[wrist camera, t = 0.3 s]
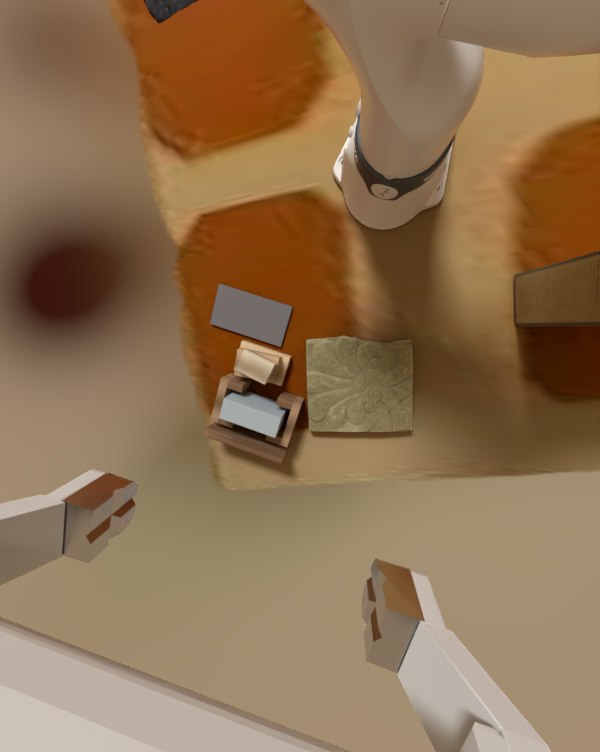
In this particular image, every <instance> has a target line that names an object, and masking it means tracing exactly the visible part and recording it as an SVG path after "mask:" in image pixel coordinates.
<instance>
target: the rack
mask: <svg viewBox="0 0 600 752" xmlns="http://www.w3.org/2000/svg"><path fill="white" fill-rule="evenodd" d="M250 383H251V380H250V379H247V378H244V377H241V376H237V375H234V374H232V373H230V374H228V375H226V376H224V377H222V378H221V380H220V384H219V388H218V392H217V396H216V400H215V404H214V408H213V412H212V416H211V421H214V422H215V423H213V424H212V425H211V426H210V427H208V428H207V429H206V430H204V433H203V436H205V437H208V438H211V439H214V440H216V441H219V442H222V443H225V444H227V445H230V446H233V447H236V448H238V449H241V450H244V451H247V452H249V453H252V454H255V455H258V456H260V457H263V458H266V459H269V460H271V461H274V462H277V463H280V464H282V461H283V459H284V456H285V454H286V452H287V449H288V447H289V442H290V440H291V437H292V434H293V431H294V428H295V425H296V422H297V419H298V416H299V413H300V410H301V407H302V404H303V401H304V398H302V397H299V396H296V395H294V394H291V393H288V392H285V391H283V392H282V393H281V395H280V396H279V397H278V399H277V403H276V405H278V406H281V407H284V408H287V409H290V410H291V411H290V414H289V418H288V421H287V424H286V427H285V428H284V427H281V428H280V430H279V432H278V434H277V435H276V437H275V438H274V437H271V436H268V435H264V434H261V433H258V432H255V431H253V430H250V429H247V428H244V427H241V426H239V425H236V424H235V423H232V422H229V421H226V420H223V419H220V418H219V416H220V412H221V408H222V404H223V400H224V398H225V397H226V396H228V395H230V394H231V393H233V392H234V390H235V391H238V392H243V391H244V390H246V389H247V388H249V387H250Z"/></svg>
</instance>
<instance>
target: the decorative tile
mask: <svg viewBox="0 0 600 752" xmlns="http://www.w3.org/2000/svg"><path fill="white" fill-rule="evenodd" d="M306 361H307V392H308V415H309V430H310V431H320V432H399V431H412V429H413V352H412V344H411V340H397V341H393V342H390V343H384V342H376V341H374V340H369V341H367V340H361V339H359V338H357V337H348V336H340V337H333V338H324V339H310V340H307V341H306Z"/></svg>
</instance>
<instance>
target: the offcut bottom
mask: <svg viewBox="0 0 600 752" xmlns="http://www.w3.org/2000/svg"><path fill="white" fill-rule="evenodd" d="M240 348H245V349H250V350H254V351H259V352H264V353H269V354H274V355H279V356H282V358H281V364H280V370H279V375H278V381H277V382H276V383H275V384H276V385H279V386H282V385H283V382H284V379H285V376H286V373H287V370H288V367H289V363H290V360H291V357H292V356H289V355H286V354H283V353H280V352H278V351H275V350H272V349H269V348H266V347H263V346H260V345H257V344H254V343H252V342H249V341H246V340H244V341H242V342H241V345H240ZM235 365H236V364H235ZM234 370H235V367H234ZM273 384H274V383H273Z"/></svg>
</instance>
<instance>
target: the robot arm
mask: <svg viewBox="0 0 600 752" xmlns="http://www.w3.org/2000/svg"><path fill="white" fill-rule="evenodd" d="M303 1H305V2H306V3H307V4H308V5H309V6H310V7H311V8H312V9H313V10H314V11H315V12H316V14H317V15H318V16H319V17H320V18H321V19H322V20H323V21H324V23H325V24H326V25H327V27H328V28H329V29H330V31H331V32H332V33H333V35H334V36H335V38H336V40H337V41H338V43H339V44H340V46H341V47H342V49H343V51H344V53H345V54H346V56H347V58H348V60H349V62H350V64H351V66H352V68H353V70H354V72H355V75H356V77H357V79H358V82H359V85H360V89H361V99H360V101H359V104H358V106H357V110H356V117H357V120H356V122H355V124H354V126H353V125H352V126H351V128H350V130H349V133H348V138H347V140H346V142H345V144H344V146H343V148H342V150H341V152H340V155H339V157H338V159H337V161H336V163H335V165H334V168H333V176H334V178H335V179H336V181H337V182H338V184H339V185H340V186H341V187H342V190H343V193H344V197H345V201H346V204H347V207H348V209H349V210H350V212H351V214H352V215H353V216H354V217H355V218H356V219H357V220H358V221H359V222H360V223H362V224H363V225H365V226H367V227H370V228H374V229H380V230H385V229H392V228H396V227H398V226H401V225H403V224H405V223H406V222H408V221H409V220H411V219H412V218H413V217H414V216H416V215H417V214H418V213H419V212H421V211H422V210H425V209H428V208H431V207H433V206H435V205H437V204H438V203H439V202H440V201H441V199H442V197H443V194H444V189H445V184H446V178H447V173H448V168H449V163H450V157H451V152H452V147H453V142H454V137H455V133H456V132H457V130H458V128H459V127H460V125H461V123H462V122H463V120H464V118H465V117H466V115H467V113H468V112H469V110H470V109H471V107H472V105H473V103H474V101H475V99H476V97H477V94H478V91H479V88H480V85H481V81H482V76H483V70H484V47H486V48H491V49H495V50H500V51H505V52H509V53H514V54H519V55H524V56H528V57H533V58H536V57H558V56H575V55H586V54H596V53H600V0H303ZM341 163H342V164H341ZM437 189H438V190H437ZM137 486H138V485H137V484H136V483H135V482H133V481H130V480H128V479H125V478H122V477H119V476H116V475H113V474H110V473H106V472H104V471H101V470H98V469H93V470H90V471H88V472H86V473H85V474H83V475H81V476H79V477H78V478H76V479H74V480H72V481H71V482H69V483H67V484H65V485H64V486H62V487H60V488H58V489H57V490H55V491H53V492H52V493H50V494H48V495H46V496H45V495H37V496H32V497H28V498H23V499H19V500H14V501H10V502H6V503H1V504H0V585H2V584H5V583H7V582H9V581H11V580H13V579H15V578H17V577H19V576H22V575H24V574H26V573H28V572H30V571H32V570H35V569H37V568H39V567H41V566H43V565H45V564H47V563H49V562H52V561H54V560H56V559H58V558H60V557H62V555H64V556H67V557H71V558H74V559H77V560H80V561H83V562H87V563H90V562H91V561H92V560H93V559H94V558H95V557H96V556H97V555H98V554H99V553H100V552H101V551H102V550H103V549H104V548H105V547H106V546H107V545H108V540H109V538H112V537H114V536H117V535H119V534H120V533H121V532H122V531H123V530H124V529H125V528H126V527H127V525H128V524H129V522H130V521H131V519H132V517H133V514H134V511H135V503H134V501H133V499H132V497H133V496H134V495H136V494H137ZM371 574H372V577H371V578H369V579H368V580H367V581H366V584H365V587H364V591H363V598H362V614H363V618H364V620H365V622H366V623H367V626H366V629H365V632H364V639H365V651H366V661H368V662H370V663H373V664H376V665H378V666H381V667H383V668H386V669H388V670H391V671H394V672H396V673H398V677H399V679H400V681H401V683H402V685H403V687H404V689H405V691H406V693H407V695H408V697H409V699H410V701H411V703H412V705H413V707H414V709H415V711H416V713H417V715H418V717H419V719H420V721H421V723H422V725H423V727H424V729H425V731H426V733H427V735H428V737H429V739H430V741H431V743H432V745H433V747H434V749H435V751H436V752H551V751H550V749H549V747H548V746H547V744H546V743H545V742H544V741H543V740H542V738H541V737H540V736H539V735H538V734H537V732H536V731H535V730H534V729H533V728H532V726H530V724H529V723H528V722H527V720H526V719H525V718H524V717H523V716H522V714H521V713H520V712H519V711H518V710H517V709H516V707H515V706H514V705H513V704H512V703H511V701H510V700H509V699H508V698H507V697H506V695H505V694H504V693H503V692H502V691H501V690H500V688H499V687H498V686H497V685H496V683H495V682H494V681H493V680H492V679H491V677H490V676H489V675H488V674H487V673H486V671H485V670H484V669H483V668H482V667H481V666H480V664H479V663H478V662H477V661H476V660H475V658H474V657H473V656H472V655H471V654H470V653H469V651H468V650H467V649H466V648H465V646H464V645H463V644H462V643H461V642H460V640H459V639H458V638H457V637H456V636H455V635H454V633H453V632H452V631H450V630H447V629H446V627H445V624H444V622H443V619H442V616H441V613H440V611H439V608H438V605H437V602H436V600H435V597H434V594H433V591H432V588H431V586H430V583H429V580H428V577H427V575H426V574H425V573H423V572H420V571H416V570H413V569H410V568H405V567H402V566H398V565H395V564H392V563H389V562H386V561H382V560H379V559H375V560H374V561H373V564H372V567H371ZM0 752H350V751H348V750H345V749H343V748H340V747H338V746H335V745H332V744H330V743H327V742H324V741H322V740H319V739H317V738H314V737H311V736H309V735H306V734H304V733H301V732H298V731H296V730H293V729H290V728H288V727H285V726H283V725H280V724H277V723H275V722H272V721H269V720H267V719H264V718H262V717H259V716H256V715H254V714H251V713H249V712H246V711H243V710H241V709H238V708H236V707H233V706H230V705H228V704H225V703H222V702H220V701H217V700H214V699H212V698H209V697H206V696H204V695H202V694H199V693H196V692H194V691H191V690H188V689H186V688H183V687H181V686H178V685H175V684H173V683H170V682H167V681H165V680H163V679H160V678H157V677H155V676H152V675H149V674H146V673H144V672H142V671H139V670H137V669H134V668H131V667H129V666H126V665H124V664H121V663H118V662H116V661H113V660H111V659H108V658H105V657H103V656H100V655H98V654H95V653H92V652H90V651H87V650H84V649H82V648H79V647H77V646H74V645H72V644H69V643H66V642H64V641H61V640H59V639H56V638H53V637H51V636H48V635H45V634H43V633H40V632H38V631H35V630H33V629H30V628H27V627H24V626H22V625H20V624H17V623H14V622H12V621H9V620H6V619H4V618H1V617H0Z"/></svg>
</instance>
